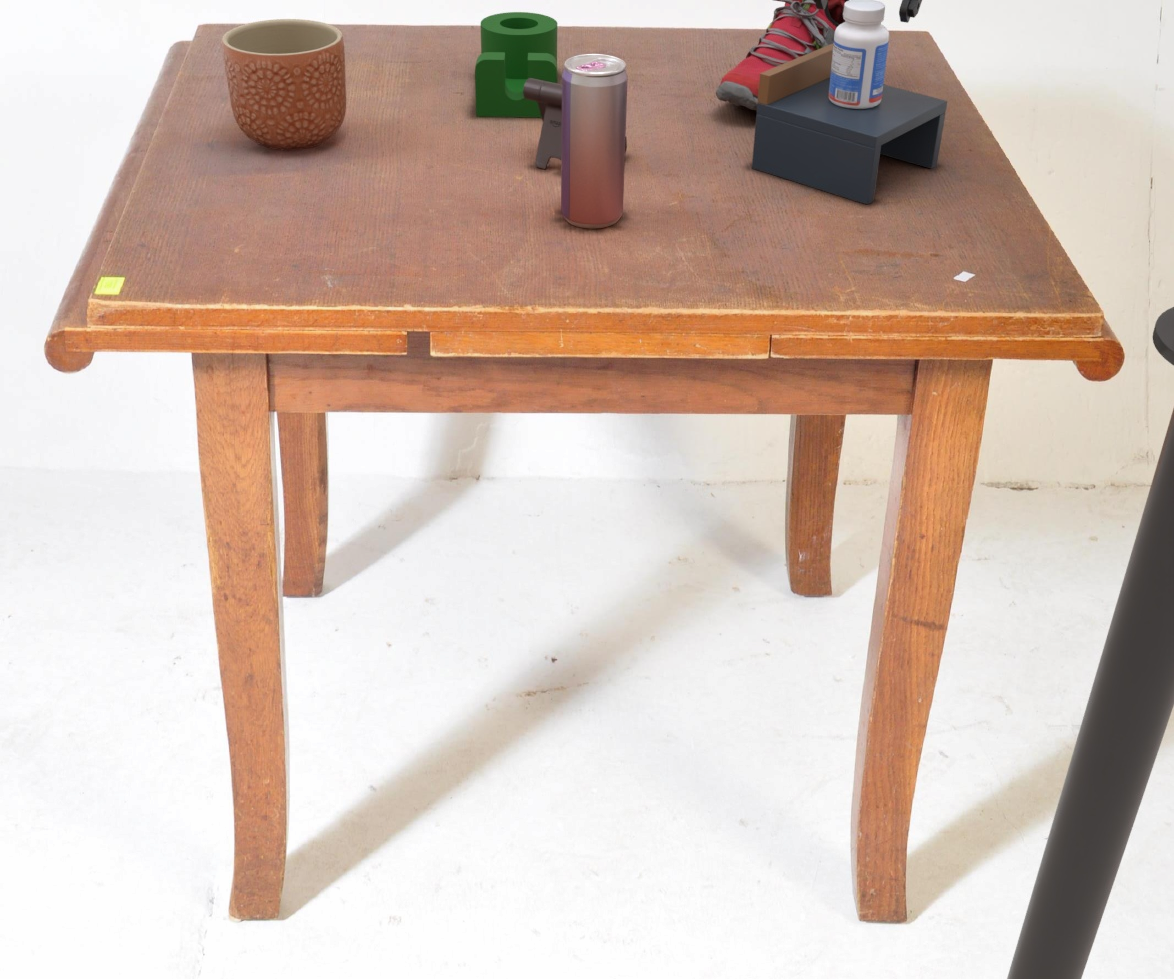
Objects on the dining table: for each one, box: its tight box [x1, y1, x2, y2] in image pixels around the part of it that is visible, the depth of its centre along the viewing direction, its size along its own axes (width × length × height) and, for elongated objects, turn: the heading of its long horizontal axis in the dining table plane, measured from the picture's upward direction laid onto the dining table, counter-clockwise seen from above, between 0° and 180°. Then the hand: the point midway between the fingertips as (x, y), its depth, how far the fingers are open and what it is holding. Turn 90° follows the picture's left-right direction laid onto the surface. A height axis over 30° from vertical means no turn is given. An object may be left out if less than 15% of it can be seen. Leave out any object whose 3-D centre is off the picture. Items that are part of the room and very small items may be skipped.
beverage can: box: [560, 53, 629, 230], centre depth 134 cm, size 6×6×15 cm
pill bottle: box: [829, 0, 890, 109], centre depth 144 cm, size 6×5×10 cm
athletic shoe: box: [715, 0, 849, 112], centre depth 164 cm, size 12×25×12 cm, turn 128°
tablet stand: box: [523, 78, 628, 170], centre depth 148 cm, size 9×8×8 cm
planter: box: [221, 18, 347, 151], centre depth 151 cm, size 12×12×11 cm
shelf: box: [751, 44, 948, 205], centre depth 147 cm, size 14×14×10 cm
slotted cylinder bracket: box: [474, 11, 558, 118], centre depth 166 cm, size 18×9×6 cm, turn 1°
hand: (860, 11), depth 140 cm, fingers open, 8 cm apart
